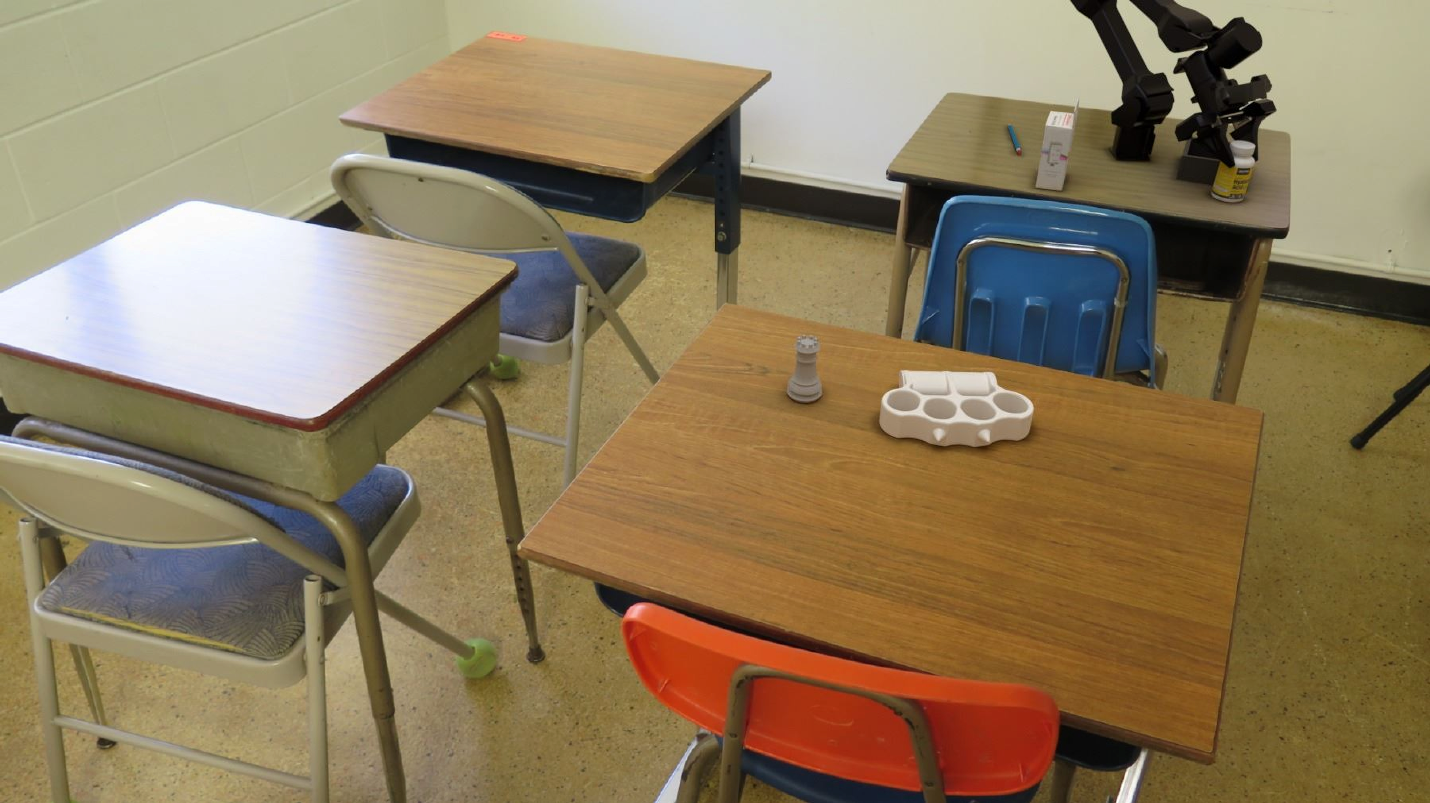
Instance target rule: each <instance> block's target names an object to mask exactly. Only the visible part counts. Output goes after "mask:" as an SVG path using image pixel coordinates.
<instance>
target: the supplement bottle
mask: <svg viewBox="0 0 1430 803" xmlns="http://www.w3.org/2000/svg"><path fill="white" fill-rule="evenodd" d="M1230 142H1231V143H1230V148H1231V151H1232V154H1233V157H1234V161H1235V166H1234V167H1232V168H1229V167H1227V166H1226V165H1225V164H1224V163H1222V162H1221V161H1220V164H1219V168H1218V171H1217V175H1216V178H1215V182H1214V185H1212V189H1211V194H1210V195H1211V196H1212V197H1213V199H1215V200H1218V201H1221V202H1223V203H1224V202H1225V203H1233V204H1234V203H1239V202H1242V201H1243V200H1244V198H1245V196H1246V192H1247V188H1248V186H1249V183H1250V180H1251V177H1252V173H1253V171H1254V168H1255V164H1256V162H1255V160H1254V158H1253V157H1252V156H1251V155H1253V153H1254V149H1255V145H1254V144H1253V143H1250V142H1247V141H1239V140H1238V141H1234V140H1232V141H1230Z"/></svg>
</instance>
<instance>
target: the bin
mask: <svg viewBox="0 0 1430 803" xmlns="http://www.w3.org/2000/svg"><path fill="white" fill-rule="evenodd" d="M1195 138H1197V136H1192V138H1191V139H1190V140H1186V141H1185V144H1184V148H1183V152H1182V155H1181V158H1180V163H1179V167H1178V171H1177V174H1176V180H1179V181H1187V182H1193V183H1200V184H1207V185H1212V186H1213V185H1214V182H1215V178H1216V175H1217V171H1218V168H1219V164H1220V160H1219V159H1217V158H1216V157H1215V156H1214V155H1212V154H1211V153H1210V152H1208V151H1207V150H1205V149H1204V148H1202V147H1201V146H1200V145H1198V144H1197V143H1193V142H1192V140H1194V139H1195ZM1228 142H1229V145H1230V143H1231V142H1232V141H1228Z"/></svg>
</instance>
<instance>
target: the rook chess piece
mask: <svg viewBox="0 0 1430 803" xmlns="http://www.w3.org/2000/svg"><path fill="white" fill-rule="evenodd" d="M818 340H819V339H818V338H817V337H815V336H814V335H811V334H810V335H809V336H808V337H807V334H802V335H801V336H798V337H797V340H796V342H794V344H793V348H794V350H795V351H796V354H795V355H794V358H795V360H796V363H795V368H794V373H793V374H792V375H791V377H790V379H789V380H788V382H787V388H786V393H787V394H788V396H789V397H790V399H791V400H792V401H794V402H797V403H801V404H809V403H813V402H816V401H817V400H819V398H820V397H821V396H822V394H823V390H822V388H823V384H822V381H821V380H820V376H819V375H818V373H817V372H818V371H817V361H818V359H819V356H818V355H817V353H818V352H819V351H820V350H821V345H820V343H819V342H818Z"/></svg>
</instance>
